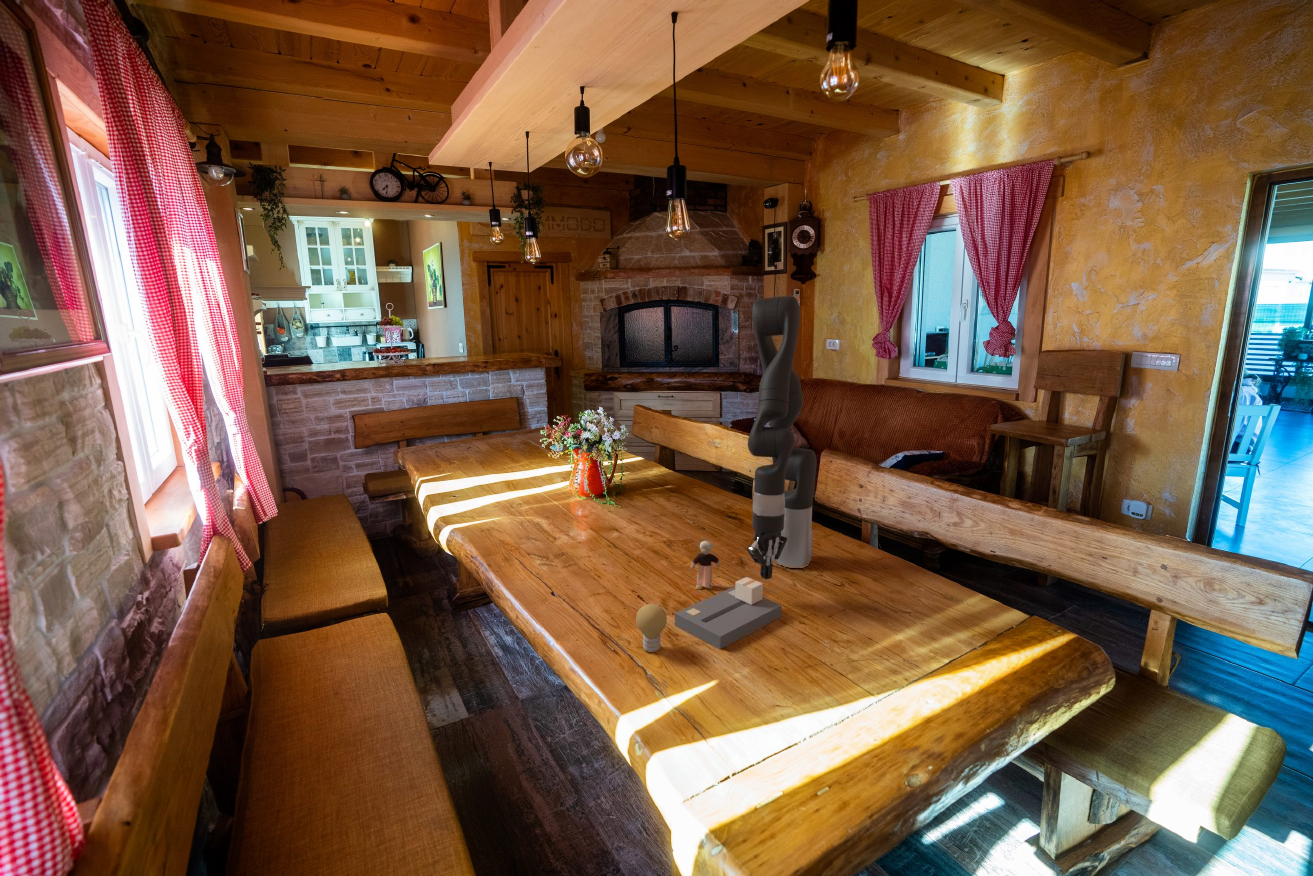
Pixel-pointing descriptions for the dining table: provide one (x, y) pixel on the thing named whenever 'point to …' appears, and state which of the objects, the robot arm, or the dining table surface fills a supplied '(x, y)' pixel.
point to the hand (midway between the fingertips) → (766, 578)
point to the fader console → (726, 618)
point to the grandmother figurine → (705, 566)
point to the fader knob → (748, 590)
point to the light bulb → (651, 625)
